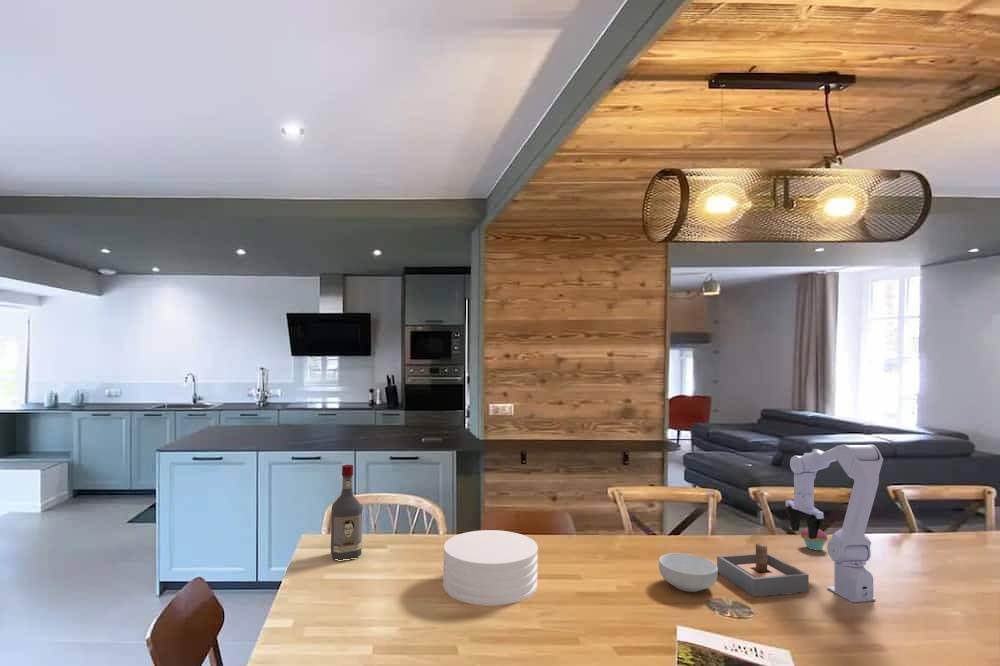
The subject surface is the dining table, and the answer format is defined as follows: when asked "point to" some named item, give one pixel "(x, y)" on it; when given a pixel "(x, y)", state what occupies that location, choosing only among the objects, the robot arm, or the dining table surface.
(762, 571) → the peg
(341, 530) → the liquor
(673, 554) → the cereal bowl
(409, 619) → the dining table surface
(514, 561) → the plate stack
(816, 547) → the cupcake
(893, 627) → the dining table surface
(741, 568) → the box
